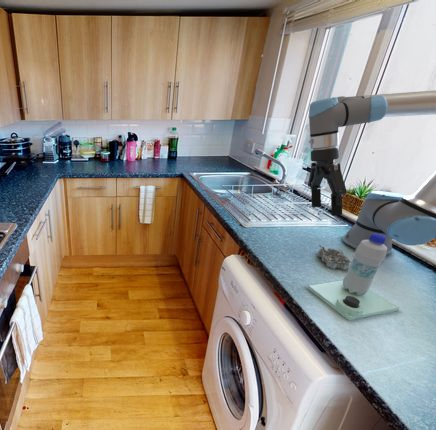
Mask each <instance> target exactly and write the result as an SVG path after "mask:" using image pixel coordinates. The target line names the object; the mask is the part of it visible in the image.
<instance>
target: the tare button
mask: <svg viewBox="0 0 436 430" xmlns="http://www.w3.org/2000/svg"><path fill="white" fill-rule="evenodd" d="M359 303H360V301H359V300H358V299H357V298H355V297H352V296H346V298H345V300H344V304H346V305H347V306H349V307H352V308H357V307H358V305H359Z"/></svg>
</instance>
